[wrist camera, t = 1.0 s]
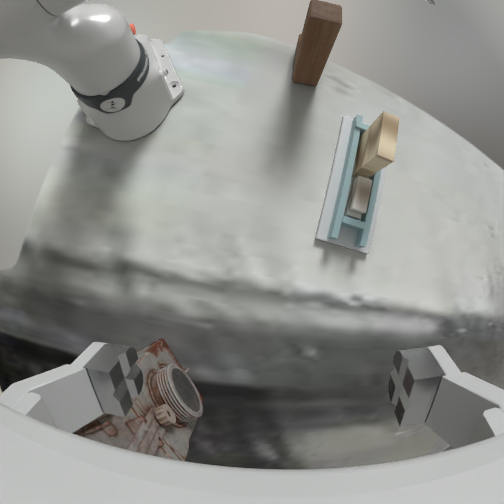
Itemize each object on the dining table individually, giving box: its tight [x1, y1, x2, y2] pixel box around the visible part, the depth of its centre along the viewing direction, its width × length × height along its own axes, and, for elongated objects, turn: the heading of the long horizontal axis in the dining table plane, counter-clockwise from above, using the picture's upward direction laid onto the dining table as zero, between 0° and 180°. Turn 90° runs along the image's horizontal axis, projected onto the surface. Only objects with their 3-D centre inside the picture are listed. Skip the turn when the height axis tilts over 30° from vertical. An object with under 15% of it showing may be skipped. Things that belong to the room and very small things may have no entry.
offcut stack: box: [344, 176, 372, 220], centre depth 46 cm, size 6×2×4 cm, turn 165°
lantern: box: [73, 339, 203, 462], centre depth 33 cm, size 16×27×30 cm, turn 121°
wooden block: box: [292, 0, 342, 86], centre depth 41 cm, size 9×4×18 cm, turn 171°
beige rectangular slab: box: [352, 112, 399, 178], centre depth 43 cm, size 7×2×11 cm, turn 165°
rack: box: [315, 115, 386, 254], centre depth 48 cm, size 22×9×4 cm, turn 165°
